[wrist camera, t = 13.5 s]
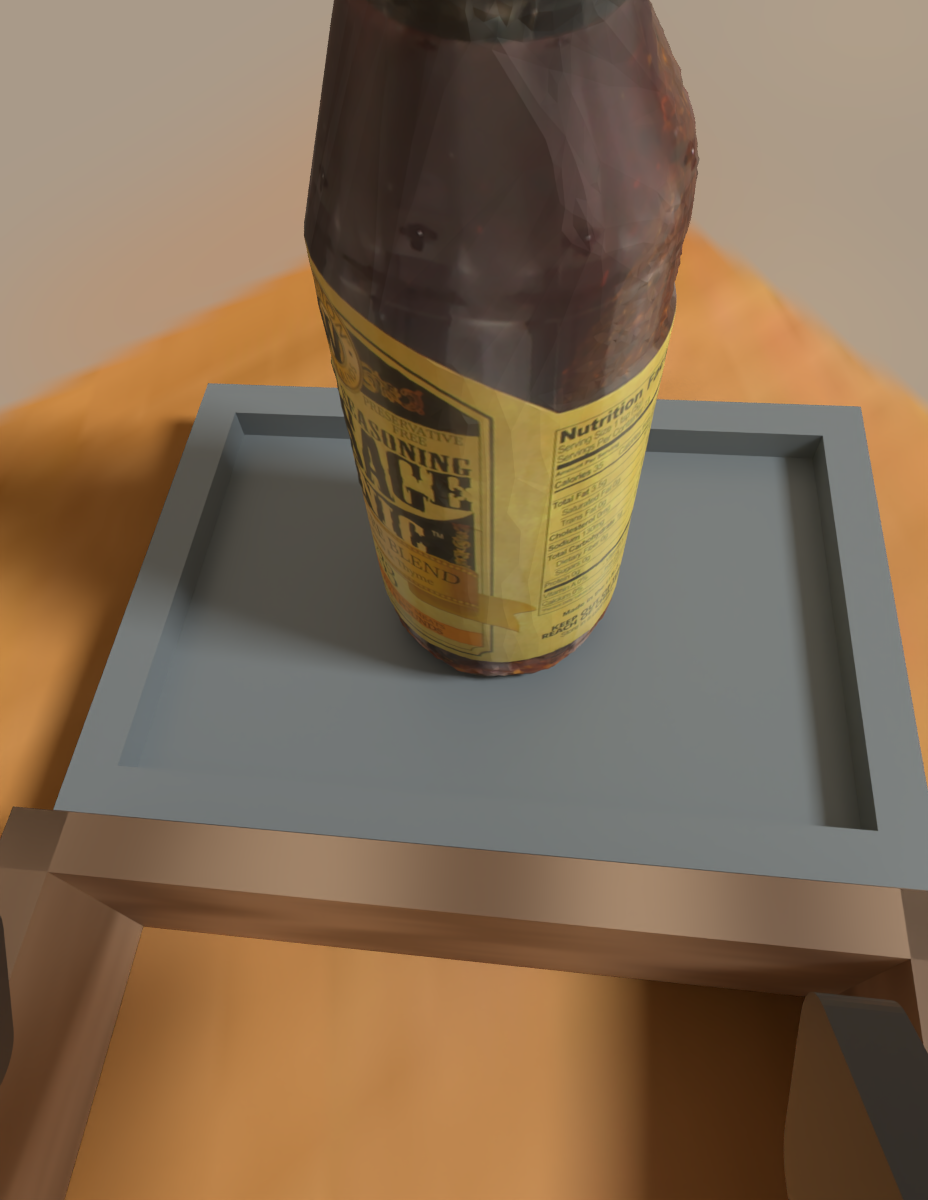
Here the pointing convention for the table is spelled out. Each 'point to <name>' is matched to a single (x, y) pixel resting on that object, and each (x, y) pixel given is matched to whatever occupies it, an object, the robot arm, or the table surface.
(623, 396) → the sauce bottle
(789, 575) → the tray
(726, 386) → the table surface
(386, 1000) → the table surface
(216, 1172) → the table surface
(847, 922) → the holder
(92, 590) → the table surface
